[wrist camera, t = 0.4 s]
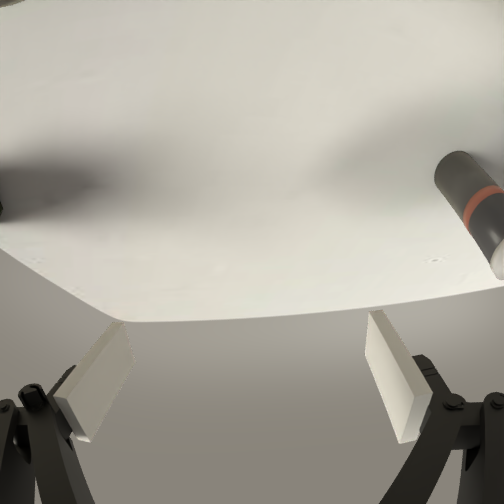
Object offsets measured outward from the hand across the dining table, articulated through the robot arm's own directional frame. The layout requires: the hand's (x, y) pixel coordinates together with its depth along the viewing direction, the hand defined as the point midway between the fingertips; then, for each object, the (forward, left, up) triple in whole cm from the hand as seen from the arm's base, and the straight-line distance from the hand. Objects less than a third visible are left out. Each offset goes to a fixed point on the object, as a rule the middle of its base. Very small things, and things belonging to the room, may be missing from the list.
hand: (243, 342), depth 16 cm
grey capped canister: (0, +21, -16) cm, 26 cm away
